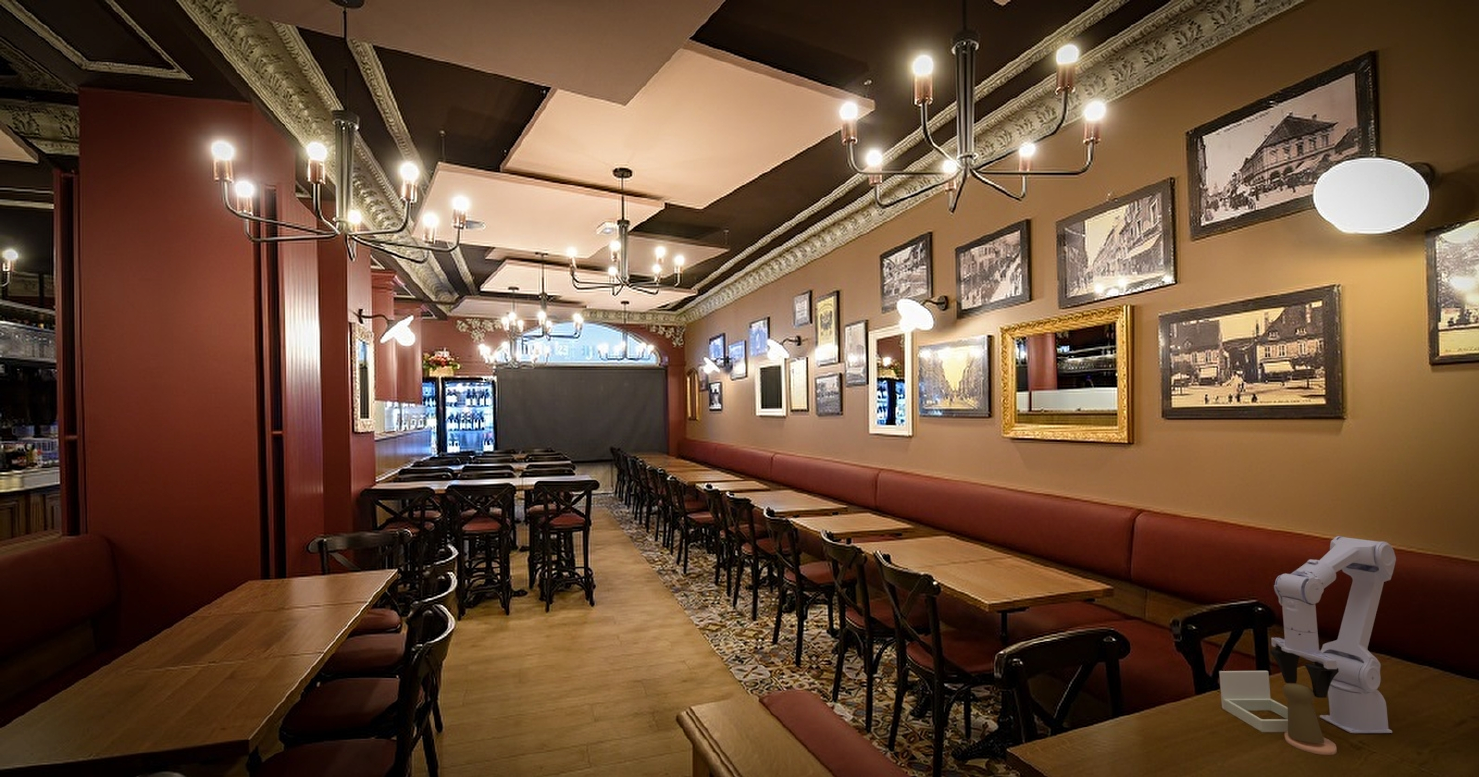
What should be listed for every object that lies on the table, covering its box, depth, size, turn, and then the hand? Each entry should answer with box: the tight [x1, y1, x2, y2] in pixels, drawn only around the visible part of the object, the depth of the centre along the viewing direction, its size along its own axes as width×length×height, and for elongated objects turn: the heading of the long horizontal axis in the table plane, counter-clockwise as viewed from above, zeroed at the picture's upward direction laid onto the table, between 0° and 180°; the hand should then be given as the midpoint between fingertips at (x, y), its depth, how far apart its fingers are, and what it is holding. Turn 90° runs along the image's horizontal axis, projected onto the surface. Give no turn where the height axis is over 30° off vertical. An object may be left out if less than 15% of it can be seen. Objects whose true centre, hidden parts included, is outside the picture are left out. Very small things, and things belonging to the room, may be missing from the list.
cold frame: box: [1218, 670, 1288, 733], centre depth 146 cm, size 12×12×9 cm
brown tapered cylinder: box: [1282, 683, 1325, 743], centre depth 135 cm, size 6×6×11 cm
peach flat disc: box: [1284, 731, 1338, 756], centre depth 134 cm, size 8×8×1 cm
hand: (1305, 689), depth 138 cm, fingers open, 7 cm apart
